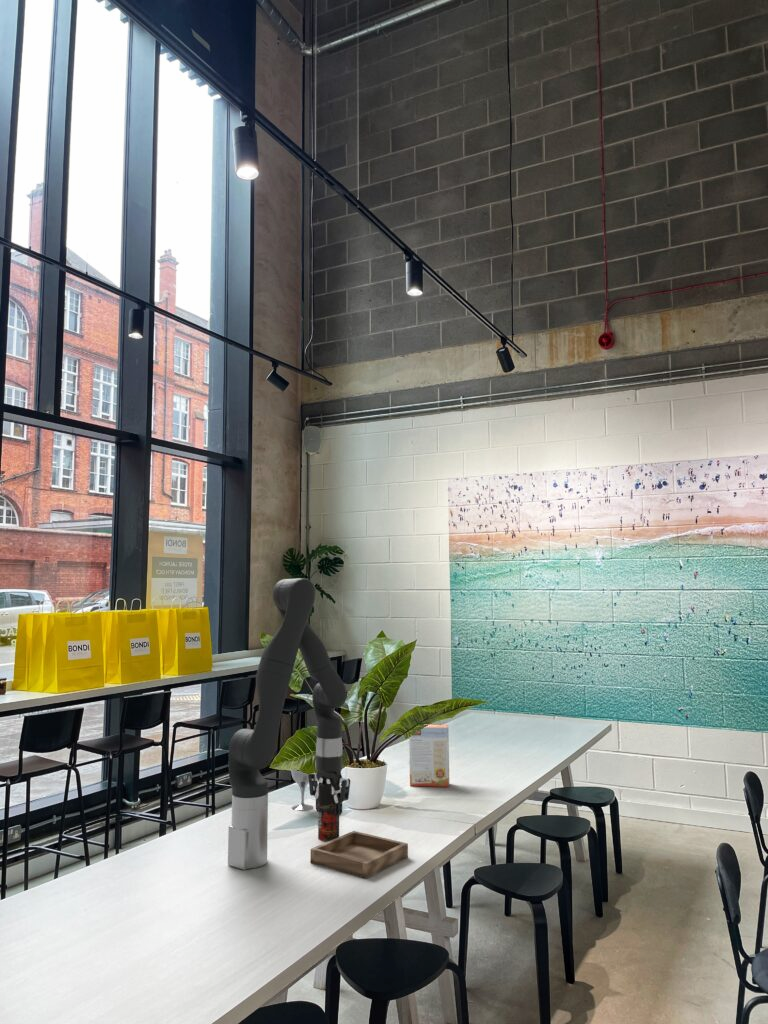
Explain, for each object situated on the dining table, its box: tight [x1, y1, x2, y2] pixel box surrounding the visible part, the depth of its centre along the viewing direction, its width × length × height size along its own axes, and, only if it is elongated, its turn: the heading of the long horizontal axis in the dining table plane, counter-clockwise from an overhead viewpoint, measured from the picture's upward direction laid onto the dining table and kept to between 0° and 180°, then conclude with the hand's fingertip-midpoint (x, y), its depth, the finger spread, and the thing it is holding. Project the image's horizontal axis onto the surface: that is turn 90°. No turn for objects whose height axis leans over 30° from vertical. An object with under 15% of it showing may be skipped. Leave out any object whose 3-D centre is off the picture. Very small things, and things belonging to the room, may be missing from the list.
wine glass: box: [290, 769, 315, 812], centre depth 244 cm, size 8×8×15 cm
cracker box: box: [408, 724, 450, 788], centre depth 272 cm, size 14×6×21 cm, turn 82°
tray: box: [310, 830, 409, 879], centre depth 196 cm, size 18×18×4 cm
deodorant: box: [317, 782, 340, 842], centre depth 214 cm, size 6×6×15 cm
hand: (328, 813), depth 214 cm, fingers closed on deodorant, 6 cm apart
